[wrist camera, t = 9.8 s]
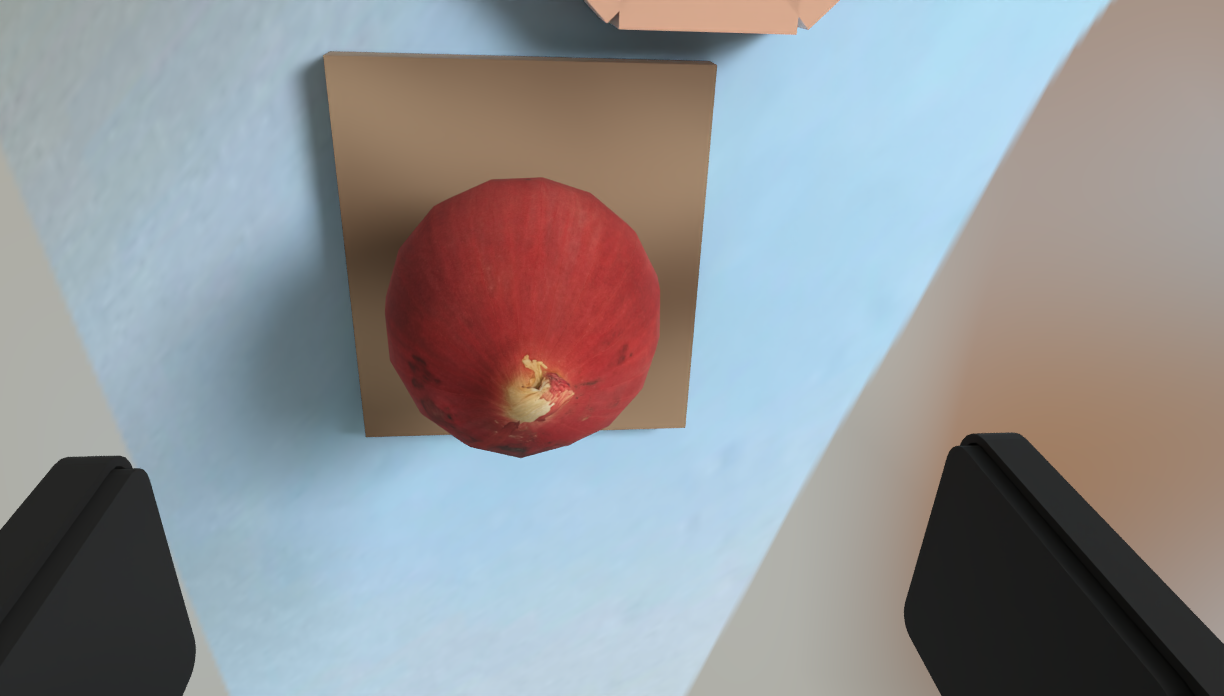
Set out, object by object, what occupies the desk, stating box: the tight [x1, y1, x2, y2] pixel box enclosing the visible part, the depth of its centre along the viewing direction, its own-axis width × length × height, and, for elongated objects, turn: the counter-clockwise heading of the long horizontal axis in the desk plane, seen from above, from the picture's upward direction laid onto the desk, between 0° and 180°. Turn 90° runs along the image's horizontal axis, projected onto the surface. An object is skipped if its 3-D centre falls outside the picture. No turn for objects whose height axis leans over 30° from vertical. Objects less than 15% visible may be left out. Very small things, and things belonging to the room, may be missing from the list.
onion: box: [385, 177, 660, 458], centre depth 17 cm, size 6×6×8 cm
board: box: [323, 51, 717, 437], centre depth 21 cm, size 10×9×1 cm
